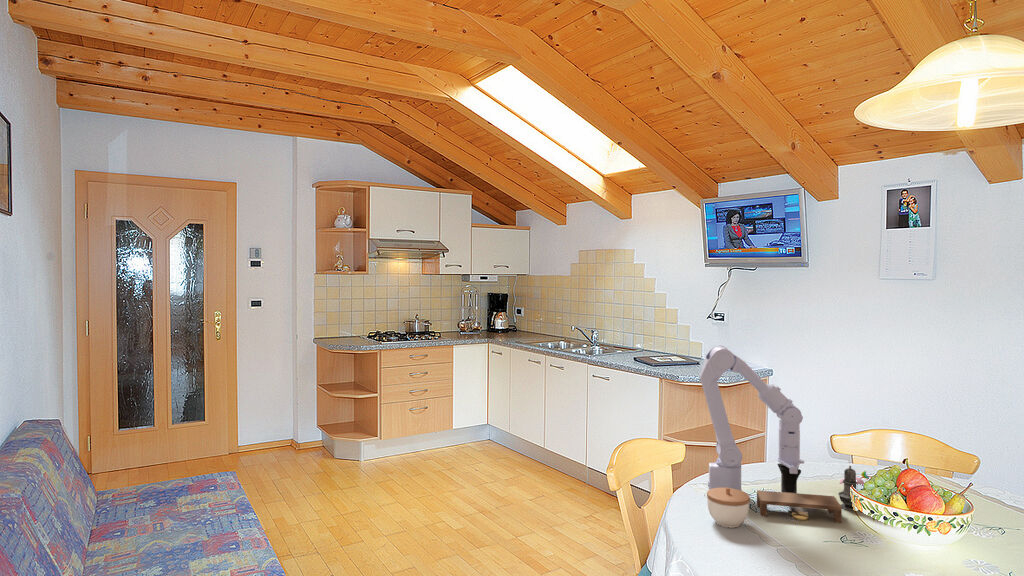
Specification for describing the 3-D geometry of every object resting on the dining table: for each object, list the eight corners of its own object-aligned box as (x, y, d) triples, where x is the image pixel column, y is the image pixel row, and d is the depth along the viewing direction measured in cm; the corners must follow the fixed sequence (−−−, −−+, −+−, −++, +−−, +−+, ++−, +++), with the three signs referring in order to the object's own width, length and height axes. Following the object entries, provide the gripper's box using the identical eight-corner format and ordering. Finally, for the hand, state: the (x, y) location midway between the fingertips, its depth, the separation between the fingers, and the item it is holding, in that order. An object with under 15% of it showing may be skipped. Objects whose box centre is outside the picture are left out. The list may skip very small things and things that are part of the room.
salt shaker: (866, 511, 171) (866, 468, 170) (844, 512, 171) (844, 468, 170) (854, 503, 177) (855, 462, 176) (834, 504, 177) (834, 462, 176)
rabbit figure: (867, 488, 193) (832, 486, 188) (870, 469, 194) (834, 466, 188) (886, 494, 187) (850, 493, 182) (888, 475, 188) (852, 473, 182)
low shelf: (760, 516, 168) (760, 500, 168) (756, 505, 176) (756, 490, 176) (841, 523, 163) (841, 506, 163) (833, 511, 171) (834, 496, 171)
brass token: (793, 521, 165) (794, 516, 165) (790, 515, 169) (790, 510, 169) (810, 522, 164) (810, 517, 164) (806, 516, 168) (806, 511, 168)
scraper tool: (788, 514, 169) (788, 489, 169) (779, 495, 184) (779, 471, 184) (808, 516, 168) (808, 490, 168) (797, 496, 183) (797, 473, 182)
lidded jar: (753, 533, 158) (753, 496, 157) (709, 529, 160) (709, 493, 160) (745, 516, 168) (746, 482, 168) (704, 513, 170) (704, 480, 170)
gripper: (809, 452, 174) (809, 500, 174) (798, 439, 188) (798, 483, 188) (782, 451, 176) (782, 498, 176) (774, 437, 190) (773, 481, 190)
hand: (789, 490), depth 182 cm, fingers closed on scraper tool
